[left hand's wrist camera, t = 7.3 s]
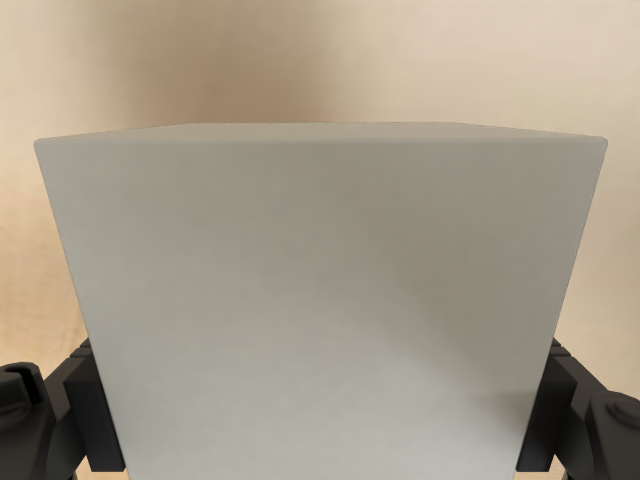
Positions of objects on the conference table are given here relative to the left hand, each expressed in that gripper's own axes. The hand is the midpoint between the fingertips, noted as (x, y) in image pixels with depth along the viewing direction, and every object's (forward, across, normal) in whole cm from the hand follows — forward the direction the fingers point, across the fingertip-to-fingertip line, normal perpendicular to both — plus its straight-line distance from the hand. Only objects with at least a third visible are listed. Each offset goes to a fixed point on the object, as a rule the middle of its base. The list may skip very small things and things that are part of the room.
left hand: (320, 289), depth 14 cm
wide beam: (+1, 0, -35) cm, 35 cm away
